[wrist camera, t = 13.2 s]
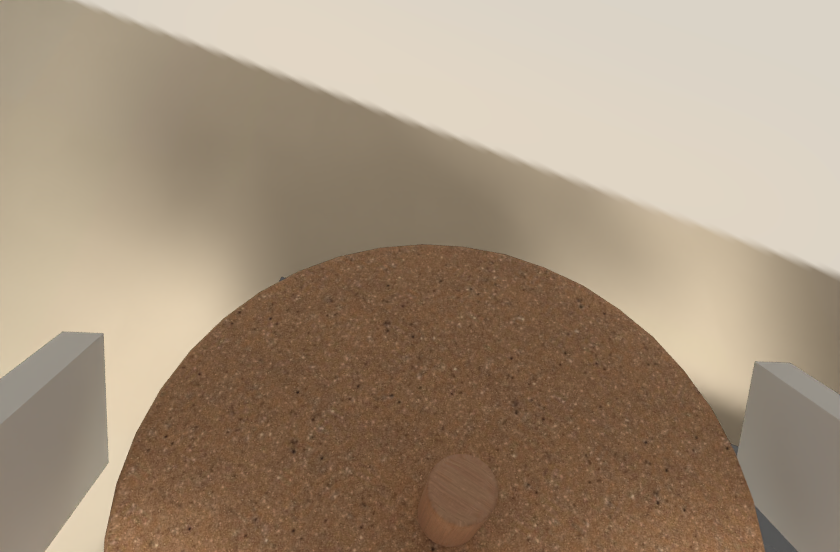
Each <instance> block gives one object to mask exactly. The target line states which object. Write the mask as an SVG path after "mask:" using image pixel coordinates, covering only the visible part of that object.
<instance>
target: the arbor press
mask: <svg viewBox="0 0 840 552" xmlns="http://www.w3.org/2000/svg"><path fill="white" fill-rule="evenodd" d="M284 279H286V278H284V277H281V279H280V281H282V280H284ZM280 281H279V282H280ZM731 446H732V448H733V449H734V451H735V453H736V456H737V453H738V446H735V445H732V444H731ZM755 509H756V514H757V518H758V522H759V526H760V531H761V535H762V539H763V544H764V548H765V552H798V551H797V550H796V549H795V548H794V547H793V546H792V545H791V544H790V543H789V541H788V540H787V539H786V538H785V537H784V536H783V535H782V534H781V533H780V532H779V531H778V530H777V529H776V528H775V526H774V525H773V524H772V523H771V522H770V521H769V520H768V519H767V518H766V517H765V516H764V515H763V514H762V513H761V511H760V510H759V509H758V508H757V507H756V506H755Z"/></svg>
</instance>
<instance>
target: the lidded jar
mask: <svg viewBox="0 0 840 552" xmlns="http://www.w3.org/2000/svg"><path fill="white" fill-rule="evenodd" d="M104 552H765V548H764V544H763V539H762V535H761V531H760V526H759V522H758V518H757V514H756V509H755V505H754V501H753V498H752V495H751V493H750V490H749V487H748V485H747V482H746V480H745V477H744V474H743V472H742V469H741V466H740V464H739V461H738V459H737V456H736V453H735V451H734V449H733V448H732V446H731V444H730V442H729V440H728V438H727V436H726V435H725V433H724V431H723V429H722V427H721V425H720V423H719V421H718V420H717V418H716V416H715V414H714V412H713V410H712V408H711V407H710V406H709V404H708V403H707V402H706V400H705V399H704V398H703V396H702V395H701V394H700V392H699V391H698V389H697V388H696V387H695V385H694V384H693V382H692V381H691V380H690V378H689V377H688V376H687V374H686V373H685V371H684V370H683V369H682V368H681V367H680V366H679V365H678V364H677V363H676V361H675V360H674V359H673V358H672V357H671V356H670V355H669V354H668V353H667V352H666V351H665V349H664V348H663V347H662V346H661V345H660V344H659V343H658V342H657V341H656V340H655V339H654V338H653V337H652V336H651V335H650V334H649V333H648V332H646V331H645V330H644V329H643V328H641V327H640V326H639V325H638V324H636V323H635V322H634V321H633V320H632V319H630V318H629V317H628V316H627V315H625V314H624V313H623V312H622V311H621V310H619V309H618V308H616V307H615V306H613V305H612V304H610V303H609V302H607V301H606V300H604V299H603V298H601V297H600V296H598V295H597V294H595V293H594V292H592V291H590V290H589V289H587V288H586V287H584V286H583V285H581V284H579V283H576V282H574V281H572V280H570V279H568V278H565V277H563V276H561V275H559V274H557V273H555V272H552V271H550V270H548V269H546V268H544V267H541V266H538V265H535V264H532V263H529V262H526V261H523V260H520V259H517V258H514V257H511V256H508V255H505V254H500V253H494V252H489V251H483V250H477V249H472V248H466V247H457V246H441V245H424V244H421V245H410V246H397V247H385V248H377V249H373V250H368V251H363V252H359V253H354V254H349V255H345V256H340V257H337V258H334V259H331V260H329V261H326V262H323V263H321V264H318V265H315V266H312V267H310V268H307V269H304V270H301V271H299V272H297V273H295V274H293V275H291V276H289V277H287V278H286V279H284V280H282V281H280V282H278V283H276V284H274V285H272V286H270V287H269V288H267V289H265V290H263V291H261V292H259V293H258V294H257V295H255V296H254V297H253V298H251V299H250V300H248V301H247V302H246V303H244V304H243V305H242V306H240V307H239V308H237V309H236V310H235V311H233V312H232V313H231V314H229V315H228V316H226V317H225V318H224V319H223V320H222V321H221V322H220V323H219V324H218V325H217V326H215V327H214V328H213V329H212V330H211V331H210V332H209V333H208V334H207V335H206V336H205V337H204V338H203V339H202V340H201V341H200V342H199V343H198V344H197V345H196V346H195V347H194V348H193V349H192V350H191V351H190V352H189V353H188V355H187V356H186V357H185V358H184V360H183V361H182V362H181V364H180V365H179V366H178V367H177V369H176V370H175V371H174V373H173V374H172V375H171V377H170V378H169V379H168V380H167V382H166V383H165V384H164V386H163V387H162V388H161V390H160V391H159V393H158V395H157V397H156V398H155V400H154V402H153V404H152V406H151V407H150V409H149V411H148V413H147V414H146V416H145V418H144V420H143V422H142V423H141V425H140V427H139V429H138V430H137V432H136V434H135V437H134V439H133V442H132V445H131V447H130V450H129V452H128V455H127V458H126V460H125V463H124V466H123V468H122V471H121V473H120V476H119V479H118V481H117V484H116V489H115V493H114V498H113V503H112V507H111V512H110V516H109V521H108V525H107V530H106V535H105V542H104Z"/></svg>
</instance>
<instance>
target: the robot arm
mask: <svg viewBox="0 0 840 552" xmlns="http://www.w3.org/2000/svg"><path fill="white" fill-rule="evenodd" d="M737 459H738V461H739V464H740V466H741V469H742V472H743V474H744V477H745V480H746V482H747V485H748V487H749V490H750V493H751V495H752V498H753V501H754V505H755V506H756V507H757V508H758V509H759V510H760V511H761V513H762V514H763V515H764V516H765V517H766V518H767V519H768V520H769V521H770V522H771V523H772V524H773V525H774V526H775V528H776V529H777V530H778V531H779V532H780V533H781V534H782V535H783V536H784V537H785V538H786V539H787V540H788V541H789V543H790V544H791V545H792V546H793V547H794V548H795V549H796V550H797V551H798V552H840V394H838V393H836V392H835V391H833V390H832V389H830V388H829V387H827V386H825V385H824V384H822V383H821V382H819V381H818V380H816V379H814V378H813V377H811V376H810V375H808V374H807V373H805V372H804V371H802V370H800V369H799V368H797V367H796V366H794V365H793V364H791V363H781V362H757V361H755V363H754V369H753V374H752V379H751V384H750V390H749V395H748V400H747V405H746V411H745V416H744V421H743V426H742V432H741V437H740V442H739V447H738V453H737ZM107 464H108V437H107V411H106V385H105V360H104V334H103V333H83V332H61V333H60V334H59V335H57V336H56V337H55V338H53V339H52V340H51V341H49V342H48V343H47V344H46V345H44V346H43V347H42V348H40V349H39V350H38V351H36V352H35V353H34V354H32V355H31V356H30V357H28V358H27V359H26V360H25V361H23V362H22V363H21V364H19V365H18V366H17V367H15V368H14V369H13V370H11V371H10V372H9V373H7V374H6V375H5V376H3V377H2V378H1V379H0V552H45V550H46V549H47V548H48V546H49V545H50V543H51V542H52V541H53V539H54V538H55V537H56V535H57V534H58V532H59V531H60V530H61V528H62V527H63V525H64V524H65V523H66V521H67V520H68V518H69V517H70V516H71V514H72V513H73V511H74V510H75V509H76V507H77V506H78V505H79V503H80V502H81V500H82V499H83V498H84V496H85V495H86V493H87V492H88V491H89V489H90V488H91V486H92V485H93V484H94V482H95V481H96V479H97V478H98V477H99V475H100V474H101V473H102V471H103V470H104V468H105V467H106V466H107Z"/></svg>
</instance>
